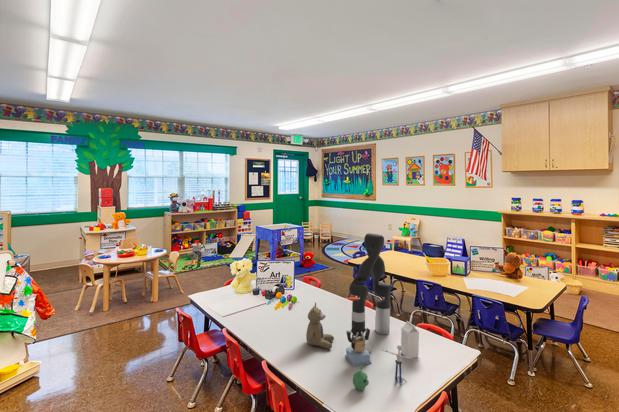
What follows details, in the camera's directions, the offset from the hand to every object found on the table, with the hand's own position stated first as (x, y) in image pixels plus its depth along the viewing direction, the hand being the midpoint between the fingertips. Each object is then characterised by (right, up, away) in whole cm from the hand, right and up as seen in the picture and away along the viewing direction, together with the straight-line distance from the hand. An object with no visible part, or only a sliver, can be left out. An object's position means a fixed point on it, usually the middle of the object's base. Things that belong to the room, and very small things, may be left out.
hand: (358, 347), depth 178 cm
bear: (-21, -6, +18) cm, 28 cm away
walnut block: (0, -1, 0) cm, 1 cm away
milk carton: (+31, -7, +5) cm, 32 cm away
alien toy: (-3, -9, -25) cm, 27 cm away
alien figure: (+18, -8, -20) cm, 28 cm away
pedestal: (0, -7, 0) cm, 7 cm away
